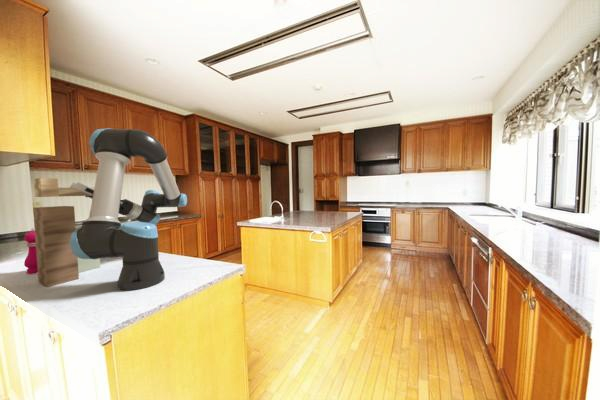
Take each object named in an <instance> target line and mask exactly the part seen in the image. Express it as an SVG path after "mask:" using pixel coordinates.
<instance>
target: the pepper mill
mask: <svg viewBox="0 0 600 400" xmlns="http://www.w3.org/2000/svg"><path fill="white" fill-rule="evenodd" d="M23 239H24V241H25V242H27V243H26V247H28V254H27V256H26V258H25V259H24V263H23V265H24V266H25V268H27V269H26V274H27V275H34V274H35V275H36V274H38V268H37V254H36V241H35V227H33V228H31V230H30V232H27V233H26V234H25V235H24V238H23Z"/></svg>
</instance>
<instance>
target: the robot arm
mask: <svg viewBox="0 0 600 400" xmlns="http://www.w3.org/2000/svg"><path fill="white" fill-rule="evenodd" d="M89 146H90V150H91V152H92V153H93V155H94V157H95V159H96V160H98V166H97V171H96V178H95V183H94V186H93V187H89V186H88V185H85V184H83V183H80V182H76V183H75V182H72V184H71V185H70V186H69V187H68V188H75V189H77V190H80V191H82V192H84V193H87V194H89V195H92V194H93V196H84V197H85V198H89V199H91V203H90V204H91V205H90V210H89V216H88V218H86V219H85V220H83V221H82V223H81V224H82V225H81V226H82V228H79V229H76V230H75V231H74V232H73V233H72V234H71V237H70V247H71V250H72V252H73V253H74V255H75V256H77V257H78V258H81V259H100V260H101V259H112V258H113V259H115V258H121V259H122V267H121V271H120V273H119V276H118V279H117V288H118V289H119V290H121V291H122V290H123V291H133V290H135V291H136V290H139V289H140V290H142V289H144V288H145V289H146V288H149V287H152V286H155V285H157V284H160V283H161V282H163V281H164V280H165V278H166V277H165V271H164V268H163V266H162V264H161V262H160V259H159V257H160V254H159V253H160V252H159V234H158V228H157V224H158V223H159V222H160V220H161V215H160V213H158V212H157V211H158V208H182V207H186V206H187V203H188V196H187V194H185V193H182V192H180V190H179V189H180V188H179V187H178V184H177V183H176V180H175V177H174V175H173V172H172V169H171V168H170V165H169V162H168V160H167V159H168V154H167V151H166V149H165V147H164V146H163V145H162V143H161V142H160V141H159V140H158V139H157V138H156V137H155V136H153V135H152V134H150V133H149V132H147V131H144V130H141V129H138V128H137V129H136V128H135V129H131V128H128V129H127V128H124V129H123V128H110V127H106V128H99V129H95V130H94V131H93V132H92V134H91V135H90V137H89ZM135 157H137V158H142V159H143V161H144V162H145V163H146V164H149V167H150V168H151V171H152V173H153V175H154V177H155V179H156V181H157V182H158V186H159V187H160V189H161V191H162V192H163V193H160V192H159V191H158V190H155V189H149V190H146V191H144V192H145V193H144V195H143V197H142V202H141V205H140V204H138V203H135V202H133V201H131V200H129V199H126V198H125V199H122V193H123V192H122V191H123V187H124V186H123V185H124V177H125V172H126V166H128V165H129V164H131V159H132V158H135ZM92 188H94V189H92ZM119 215H121V216H125V217H126V218H128V219H129V220H134V221H128V222H121V221H120V220H119Z"/></svg>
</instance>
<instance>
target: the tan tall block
mask: <svg viewBox="0 0 600 400" xmlns="http://www.w3.org/2000/svg"><path fill="white" fill-rule="evenodd" d="M91 188H92V189H94V187H91ZM33 191H34V197H35V198H52V197H85V196H93V194H92V195H89V194H87V193H84V192H82V191H80V190H77V189H75V188H69V187H59V179H58V178H46V177H45V178H44V177H41V178H39V177H38V178H33Z"/></svg>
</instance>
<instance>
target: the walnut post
mask: <svg viewBox="0 0 600 400" xmlns="http://www.w3.org/2000/svg"><path fill="white" fill-rule="evenodd" d="M32 212H33V224H34V225H33V226H34V227H33V228H35V241H36V254H37V268H38V273H37V278H38V279H37V281H38V284H39V285H42V286H44V287H46V288H50V287H55V286H57V285H61V284H65V283H68V282H72V281H76V280H79V278H80V274H79V273H78V258H77V256H75V255H74V253H73V252H72V250H71V247H70V237H71V234H72V233H73V232H74V231H75V230H76V227H75V226H76V214H75V206H74V205H59V206H58V205H57V206H41V207H40V206H39V207H32Z"/></svg>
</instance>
